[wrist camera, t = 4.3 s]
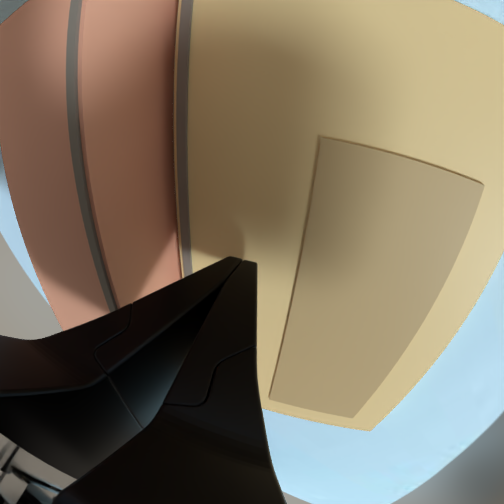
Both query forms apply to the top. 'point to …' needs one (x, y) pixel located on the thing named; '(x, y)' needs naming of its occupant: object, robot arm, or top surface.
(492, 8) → the top surface
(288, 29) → the tan rectangular slab
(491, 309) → the top surface
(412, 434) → the top surface
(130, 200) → the pink long block
